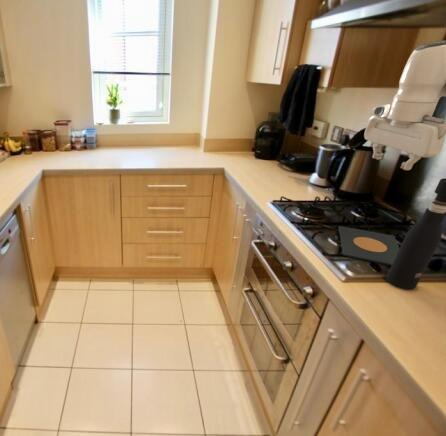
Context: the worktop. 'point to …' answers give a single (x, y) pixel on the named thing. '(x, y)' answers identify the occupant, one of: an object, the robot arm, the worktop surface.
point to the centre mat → (368, 245)
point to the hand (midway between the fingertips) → (390, 163)
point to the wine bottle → (419, 244)
